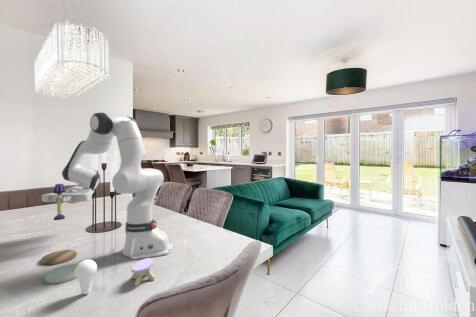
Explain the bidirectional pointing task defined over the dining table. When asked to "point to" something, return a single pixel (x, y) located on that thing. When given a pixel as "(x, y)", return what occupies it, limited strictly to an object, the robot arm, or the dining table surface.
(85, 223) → the dining table surface
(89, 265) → the lightbulb
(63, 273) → the sage coaster
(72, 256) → the walnut coaster
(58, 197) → the toy lamp
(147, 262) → the toy table
